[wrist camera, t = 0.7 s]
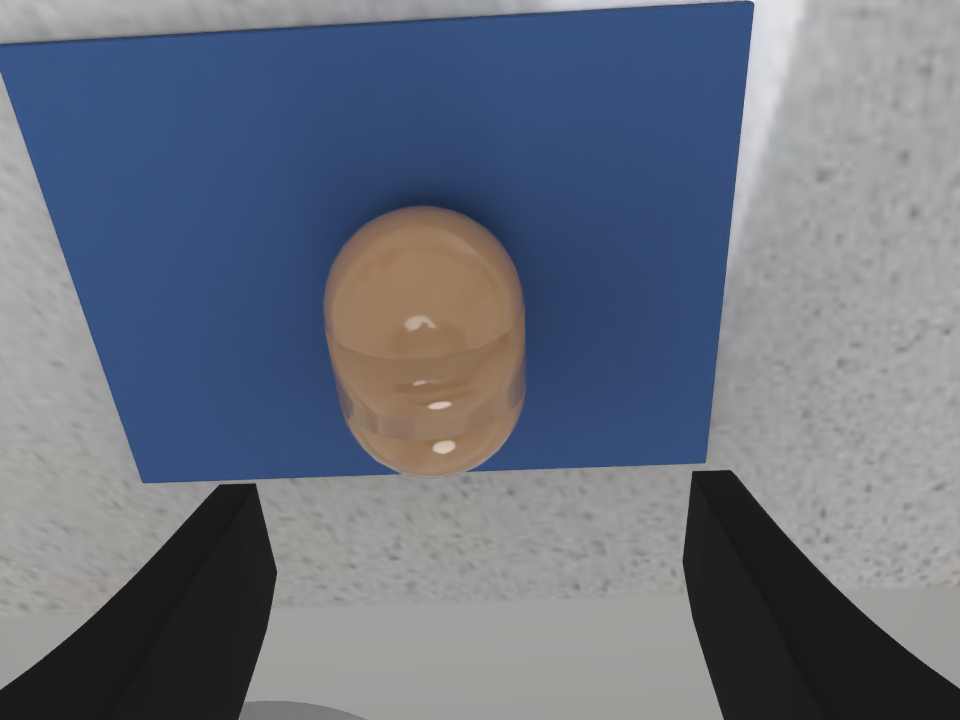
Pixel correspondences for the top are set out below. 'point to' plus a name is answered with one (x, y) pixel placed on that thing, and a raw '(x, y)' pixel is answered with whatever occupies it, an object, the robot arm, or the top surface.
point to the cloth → (384, 187)
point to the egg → (426, 340)
